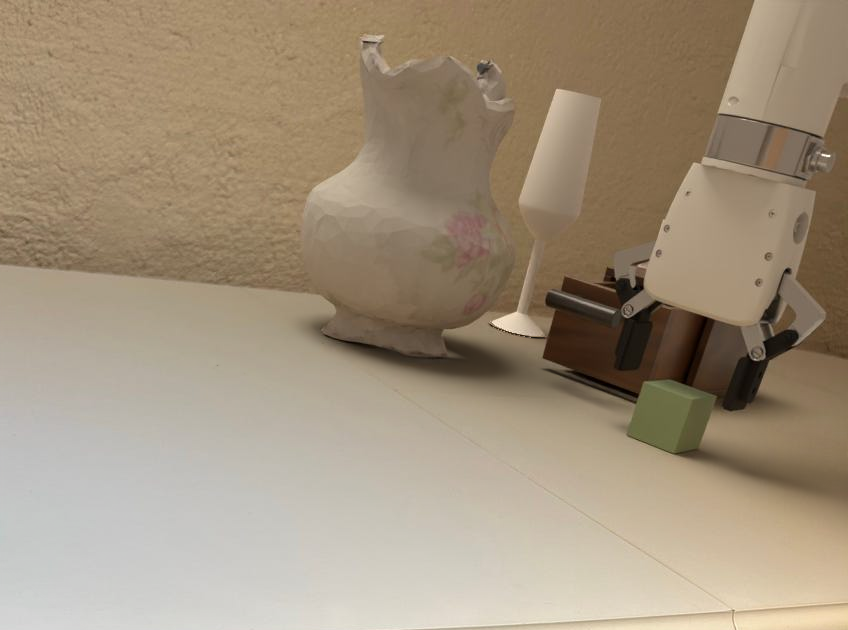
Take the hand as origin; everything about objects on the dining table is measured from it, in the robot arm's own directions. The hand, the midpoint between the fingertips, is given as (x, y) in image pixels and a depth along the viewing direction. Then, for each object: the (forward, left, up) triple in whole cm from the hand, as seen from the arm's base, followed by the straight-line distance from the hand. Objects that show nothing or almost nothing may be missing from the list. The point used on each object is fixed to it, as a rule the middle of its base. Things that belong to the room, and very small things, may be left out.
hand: (677, 388), depth 82 cm
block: (0, 0, -4) cm, 4 cm away
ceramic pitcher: (+29, +1, -5) cm, 29 cm away
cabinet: (+13, -25, -4) cm, 29 cm away
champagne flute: (+31, -23, -5) cm, 39 cm away
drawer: (+13, -13, -4) cm, 19 cm away
